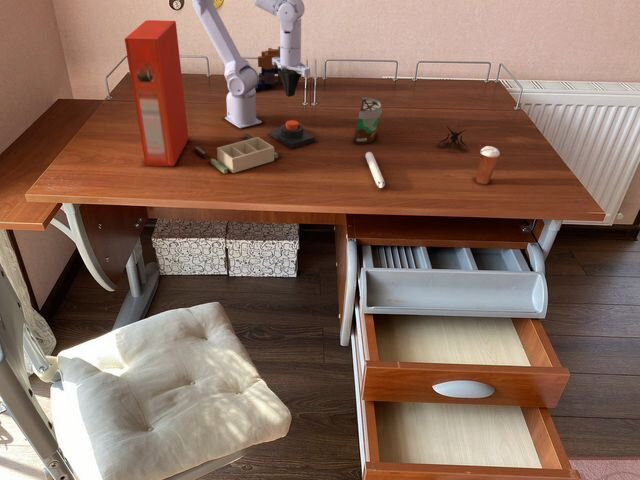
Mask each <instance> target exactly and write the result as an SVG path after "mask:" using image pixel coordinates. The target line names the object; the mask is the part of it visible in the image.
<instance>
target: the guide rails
mask: <svg viewBox="0 0 640 480" xmlns="http://www.w3.org/2000/svg"><path fill="white" fill-rule="evenodd" d="M252 138H254V137H253V136H252V135H249V134H248V133H244V134H243V139H245V140H248V139H252ZM194 152H195V153H197V154H198V155H199V156H200V157H202V158H203V159H205V158H207V157H208V154H207V152H206V151H204V150H203V149H202V148H200V147H199V146H195V147H194ZM278 158H279V153H277V152H276V151H275V150H274V159H278ZM210 164H211V165H212V166H214V168H216V169H217V170H219V171H220V172H222V173H223V174H224V175H225V174H228V169H227V168H226V167H224V166H223V165H222V164H220V163H219V162H218V160H216V159H215V158H211V159H210Z"/></svg>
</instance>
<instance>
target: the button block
mask: <svg viewBox="0 0 640 480" xmlns="http://www.w3.org/2000/svg"><path fill="white" fill-rule="evenodd" d="M304 130H305V128H304V126H303V125H302V124H300V123H298V129H297V130H287V129H286V123H283V124H281V126H280V127H278V128H274V129H271V130H269V136H270V137H272V138H274V139H275V140H277V141H279V142H280V143H282V144H283V145H285V146H287V147H288V148H290V149H296V148H298V147H302V146H305V145H309V144H312V143H315V136H313V135H311V134H309V132H306V131H304Z"/></svg>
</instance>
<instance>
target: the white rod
mask: <svg viewBox="0 0 640 480" xmlns="http://www.w3.org/2000/svg"><path fill="white" fill-rule="evenodd" d="M364 157H365V160H366V162H367V165H368V167H369V170H370V172H371V175H372V177H373V179H374V182H375V185H376V186H377V188H379V189H383V188H384V187H385V185H386V183H385V179H384V177H383V175H382V172H381V170H380V167H379V165H378V163H377V160H376V157H375V156H374V154H373V152H372V151H367V152H366V153H365V155H364Z"/></svg>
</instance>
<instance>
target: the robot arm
mask: <svg viewBox="0 0 640 480" xmlns="http://www.w3.org/2000/svg"><path fill="white" fill-rule="evenodd" d="M253 3H254V5H255V7H258V8H260V9H261V10H263V11H264V12H266V13H269V14H271V15H273V16H275V17H276V18H277V20H278V21H279V46H280V57H273V58H272V65H277V66H278V68H281V70H280V71H278V74H279V75H280V77H281V83H282V84H283V88H284V92H285V96H286V97H289V98H290V97H295V94H296V90H297V86H298V83H299V81H300V79H301V77H304V78H306V77H309V76H311V67H308V66H307V65H305V64H304V63H303V62H302V17H303V15H304V13H305V4H304V2H303V0H253ZM191 4H192V8H193V10H194V12H195V14H196V17H197V18H198V19H199V21H200V23H201V25H202V27H203V28H204V31H205V32H206V34H207V36H208V38H209V39H210V42H211V43H212V45H213V47H214V49H215V50H216V52H217V54H218V56H219V58H220V60H221V62H222V63H223V65H224V73H223V74H224V75H223V76H224V78H225V81H226V83H227V90H228V91H229V92H228V93H227V94H226V98H225V99H226V116H225V117H224V119H225V120H226V121H228V122H229V123H230V124H232V125H234V126H236V127H237V128H238V129H245V128H248V127H252V126H256V125H259V124H262V123H263V121H262V120H260V119H259V118H258V117H257V93H256V92H257V91H255V86H256V85H257V84H258V81H259V76H258V75H259V73H258V71H257V70H256V69H255V68H254V67H253V66H252V65H251V64H250V62H249V60H247V59H245V58H244V57H242V55H241V53H240V51H239V50H238V48H237V46H236V44H235V42H234V40H233V39H232V37H231V34H230V33H229V31H228V29H227V27H226V25H225V24H224V21H223V19H222V18H221V16H220V14H219V12H218V10H217V9H216V6H215V0H191ZM278 74H277V75H278Z"/></svg>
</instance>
